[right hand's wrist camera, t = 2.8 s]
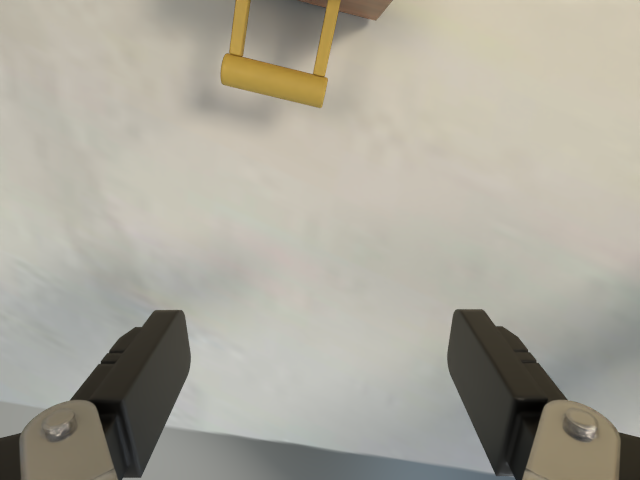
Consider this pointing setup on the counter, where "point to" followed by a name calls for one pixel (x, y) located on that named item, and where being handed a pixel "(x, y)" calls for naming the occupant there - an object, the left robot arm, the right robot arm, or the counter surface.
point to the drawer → (285, 81)
